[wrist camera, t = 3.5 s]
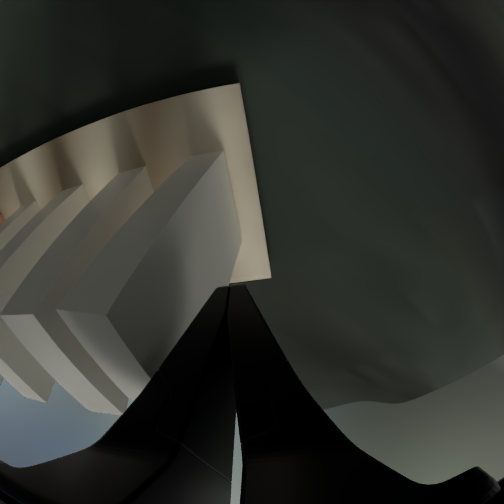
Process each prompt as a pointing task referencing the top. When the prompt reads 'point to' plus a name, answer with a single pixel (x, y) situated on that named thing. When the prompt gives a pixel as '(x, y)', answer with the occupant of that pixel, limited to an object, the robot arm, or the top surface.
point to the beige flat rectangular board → (150, 160)
